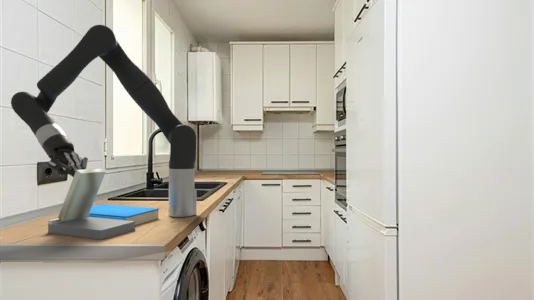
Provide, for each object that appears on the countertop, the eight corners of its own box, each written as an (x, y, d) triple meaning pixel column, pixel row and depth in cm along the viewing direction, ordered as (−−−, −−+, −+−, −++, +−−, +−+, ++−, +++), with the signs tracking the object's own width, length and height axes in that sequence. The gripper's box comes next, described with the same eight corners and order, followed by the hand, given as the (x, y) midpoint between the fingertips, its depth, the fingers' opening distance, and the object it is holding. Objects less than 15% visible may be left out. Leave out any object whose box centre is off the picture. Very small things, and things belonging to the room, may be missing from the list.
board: (85, 224, 115) (85, 212, 115) (135, 229, 108) (135, 217, 108) (48, 232, 103) (48, 220, 103) (100, 239, 96) (101, 226, 96)
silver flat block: (87, 216, 112) (83, 212, 113) (105, 171, 109) (101, 168, 110) (62, 221, 104) (57, 217, 104) (81, 173, 101) (76, 169, 101)
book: (102, 204, 134) (159, 207, 126) (102, 215, 134) (159, 219, 126) (63, 211, 118) (126, 215, 110) (63, 224, 118) (126, 229, 110)
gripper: (40, 132, 104) (70, 175, 99) (79, 134, 116) (107, 172, 112) (27, 150, 106) (56, 193, 101) (67, 150, 118) (94, 188, 114)
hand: (83, 182), depth 107 cm, fingers closed
